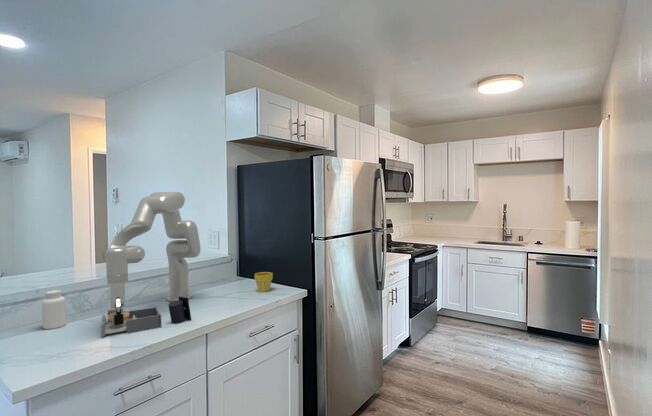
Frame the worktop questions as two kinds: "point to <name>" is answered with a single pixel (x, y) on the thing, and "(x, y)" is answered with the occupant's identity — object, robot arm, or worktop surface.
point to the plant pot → (263, 281)
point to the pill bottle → (53, 310)
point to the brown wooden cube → (110, 312)
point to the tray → (113, 326)
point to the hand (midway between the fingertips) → (118, 321)
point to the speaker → (179, 310)
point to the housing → (143, 320)
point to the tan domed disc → (111, 316)
